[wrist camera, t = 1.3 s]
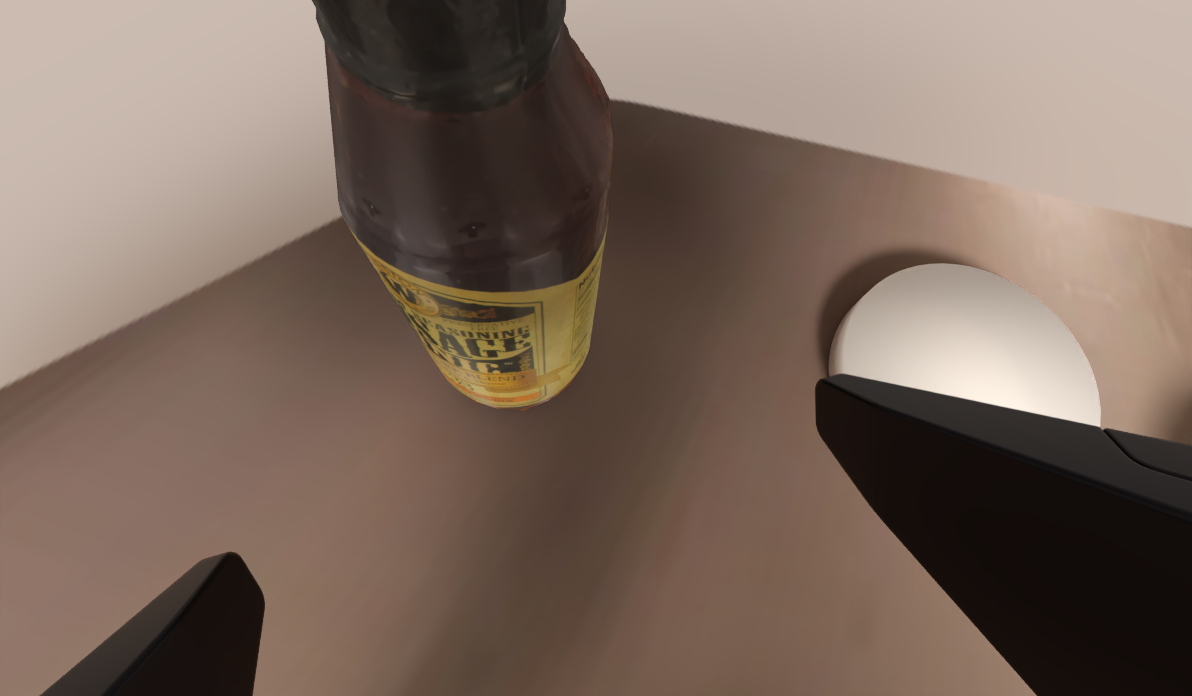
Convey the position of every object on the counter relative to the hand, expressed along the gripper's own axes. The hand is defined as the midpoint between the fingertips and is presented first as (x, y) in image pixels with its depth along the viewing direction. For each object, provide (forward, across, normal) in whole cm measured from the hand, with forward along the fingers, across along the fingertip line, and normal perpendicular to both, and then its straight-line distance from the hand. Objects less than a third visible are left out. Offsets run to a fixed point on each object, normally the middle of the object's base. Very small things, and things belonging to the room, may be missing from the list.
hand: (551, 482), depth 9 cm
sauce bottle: (+15, 0, +4) cm, 16 cm away
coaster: (+10, -17, +9) cm, 22 cm away
